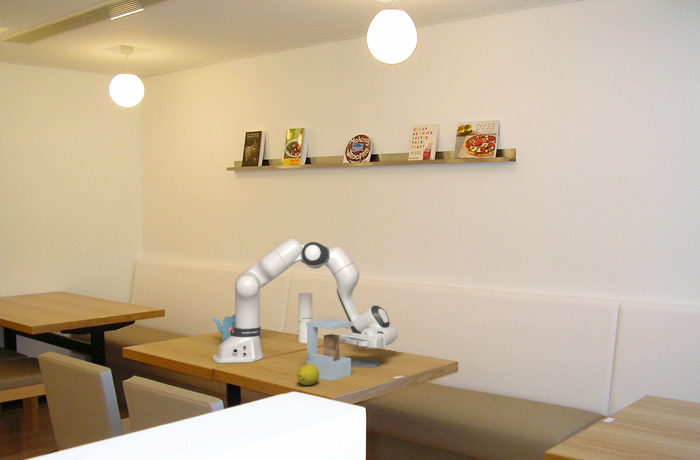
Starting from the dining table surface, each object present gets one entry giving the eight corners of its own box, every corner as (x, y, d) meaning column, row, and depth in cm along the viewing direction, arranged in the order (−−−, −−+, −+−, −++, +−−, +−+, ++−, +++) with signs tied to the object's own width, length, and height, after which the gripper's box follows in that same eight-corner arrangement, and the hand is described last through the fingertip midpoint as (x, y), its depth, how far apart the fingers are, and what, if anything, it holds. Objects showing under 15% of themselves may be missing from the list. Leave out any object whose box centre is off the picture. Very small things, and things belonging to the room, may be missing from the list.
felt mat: (349, 366, 269) (349, 364, 269) (354, 360, 281) (354, 358, 281) (376, 367, 267) (376, 366, 267) (380, 361, 278) (380, 360, 278)
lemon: (309, 380, 244) (309, 360, 244) (324, 384, 239) (324, 363, 239) (290, 386, 235) (290, 365, 235) (305, 389, 230) (305, 368, 230)
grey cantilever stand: (328, 369, 262) (328, 318, 262) (353, 375, 253) (353, 322, 253) (306, 375, 252) (306, 322, 252) (331, 381, 243) (331, 325, 243)
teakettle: (237, 338, 332) (237, 311, 332) (261, 342, 320) (261, 314, 320) (208, 344, 317) (208, 315, 317) (233, 348, 305) (233, 318, 305)
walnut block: (331, 358, 257) (331, 333, 256) (339, 359, 254) (339, 335, 254) (323, 360, 253) (323, 335, 253) (331, 361, 250) (331, 336, 250)
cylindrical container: (310, 343, 319) (310, 294, 319) (296, 342, 321) (296, 294, 321) (313, 340, 326) (313, 292, 326) (300, 340, 328) (300, 292, 328)
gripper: (352, 328, 279) (331, 332, 269) (388, 334, 266) (368, 338, 255) (352, 342, 279) (331, 346, 269) (388, 348, 266) (368, 353, 255)
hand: (349, 342), depth 262 cm, fingers open, 8 cm apart
